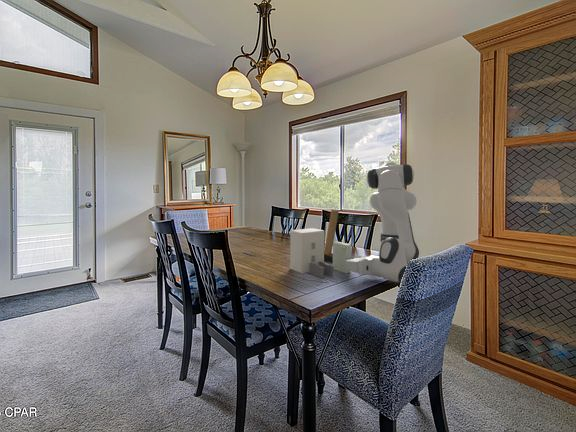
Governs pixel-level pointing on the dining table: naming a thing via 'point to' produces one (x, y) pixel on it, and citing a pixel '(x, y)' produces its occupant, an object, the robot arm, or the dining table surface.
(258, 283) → the dining table surface
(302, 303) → the dining table surface
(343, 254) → the white upright block
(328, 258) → the hammer
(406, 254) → the robot arm
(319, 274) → the hinge cabinet
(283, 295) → the dining table surface
